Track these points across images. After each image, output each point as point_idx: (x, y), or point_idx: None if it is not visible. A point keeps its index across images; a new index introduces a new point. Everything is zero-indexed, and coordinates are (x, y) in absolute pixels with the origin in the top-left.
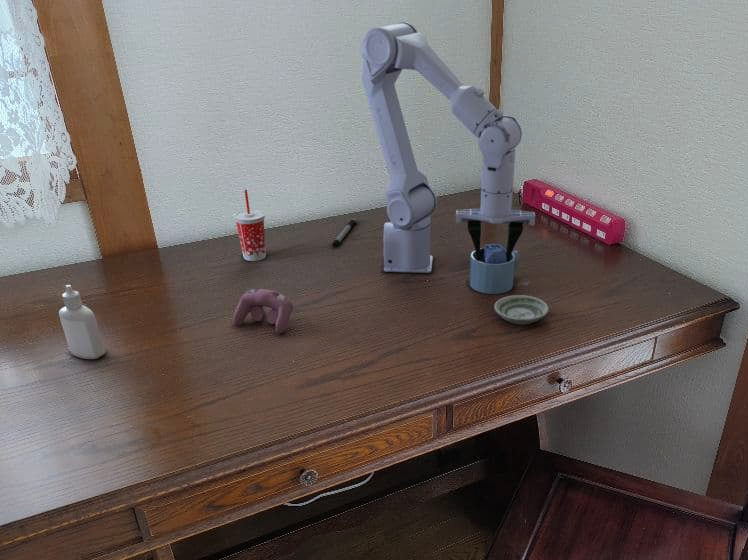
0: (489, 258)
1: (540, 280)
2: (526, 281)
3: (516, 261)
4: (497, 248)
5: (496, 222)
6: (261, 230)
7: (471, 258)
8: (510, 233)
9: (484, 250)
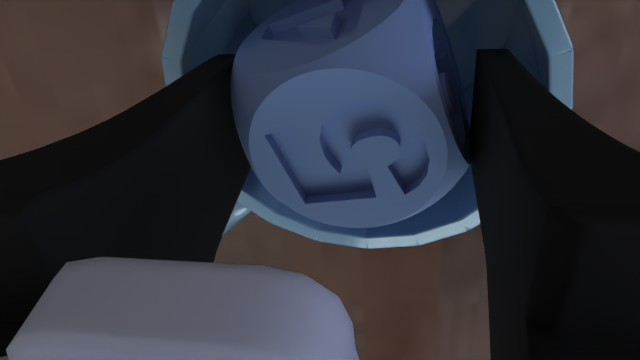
0: (388, 9)
1: (106, 80)
2: None
3: None
4: (307, 139)
5: (151, 283)
6: None
7: (572, 51)
8: (54, 181)
9: (442, 103)
